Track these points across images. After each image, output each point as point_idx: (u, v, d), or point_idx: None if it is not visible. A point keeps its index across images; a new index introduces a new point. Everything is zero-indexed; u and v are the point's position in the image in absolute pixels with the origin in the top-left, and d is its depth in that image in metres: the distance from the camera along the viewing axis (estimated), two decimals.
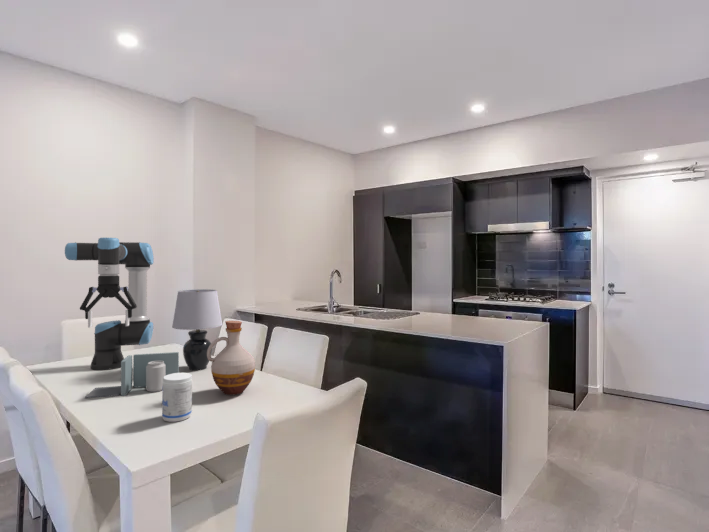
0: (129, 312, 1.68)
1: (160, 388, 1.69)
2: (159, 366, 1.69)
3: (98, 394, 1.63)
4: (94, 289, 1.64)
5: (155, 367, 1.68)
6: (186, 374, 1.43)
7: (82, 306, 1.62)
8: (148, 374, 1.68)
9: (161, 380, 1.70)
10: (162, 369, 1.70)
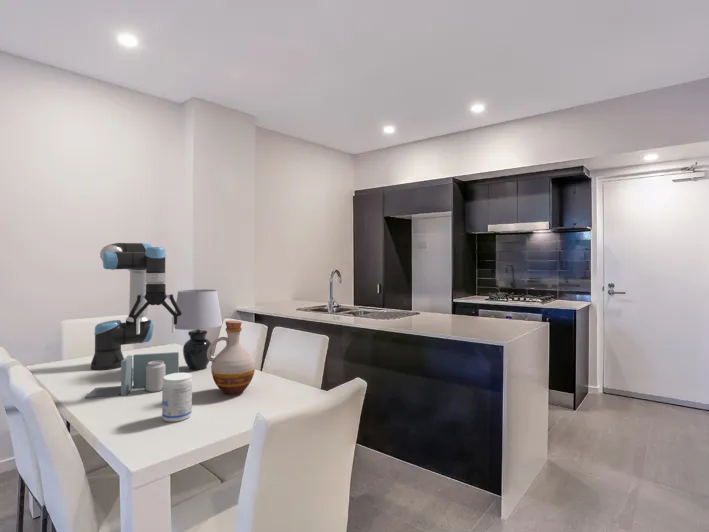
0: (175, 319, 1.72)
1: (160, 388, 1.69)
2: (159, 366, 1.69)
3: (98, 394, 1.63)
4: (142, 297, 1.69)
5: (155, 367, 1.68)
6: (186, 374, 1.43)
7: (131, 313, 1.67)
8: (148, 374, 1.68)
9: (161, 380, 1.70)
10: (162, 369, 1.70)
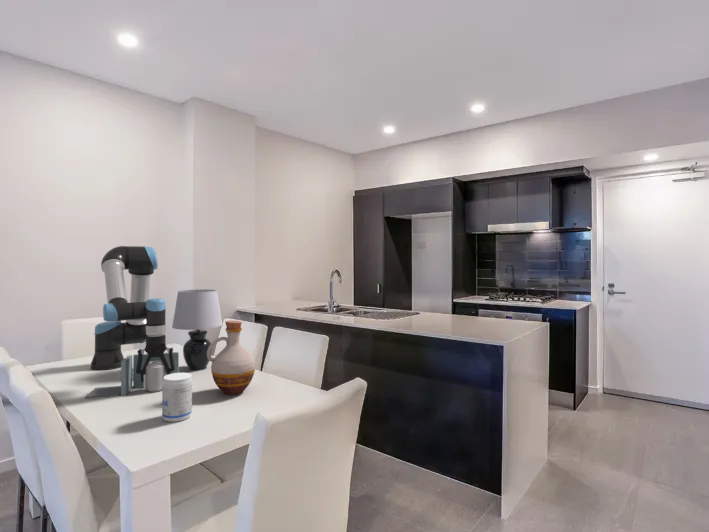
0: None
1: (160, 388, 1.69)
2: (159, 366, 1.69)
3: (98, 394, 1.63)
4: (142, 351, 1.69)
5: (155, 367, 1.68)
6: (186, 374, 1.43)
7: (137, 369, 1.68)
8: (148, 374, 1.68)
9: (161, 380, 1.70)
10: (162, 369, 1.70)
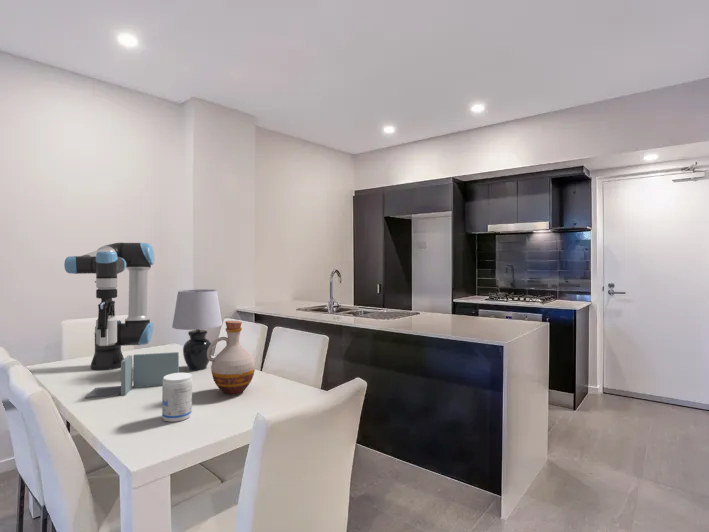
0: None
1: (97, 342, 1.65)
2: (97, 320, 1.65)
3: (98, 394, 1.63)
4: None
5: (96, 320, 1.66)
6: (186, 374, 1.43)
7: None
8: None
9: (97, 335, 1.64)
10: None
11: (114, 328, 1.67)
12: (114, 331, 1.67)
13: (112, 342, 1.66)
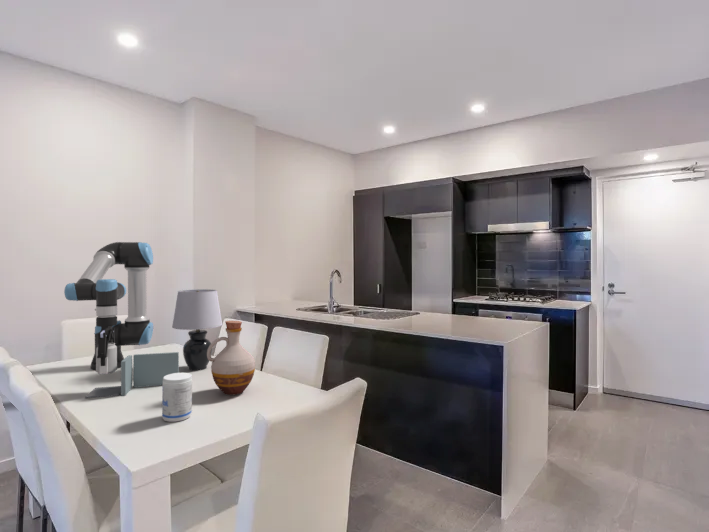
0: None
1: (96, 371, 1.65)
2: (97, 348, 1.65)
3: (98, 394, 1.63)
4: None
5: None
6: (186, 374, 1.43)
7: None
8: None
9: (97, 363, 1.64)
10: None
11: (114, 356, 1.67)
12: (114, 359, 1.67)
13: (112, 370, 1.66)
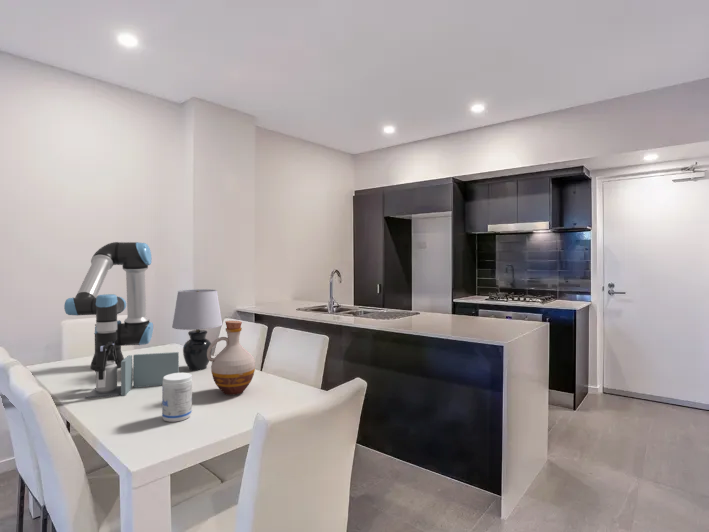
0: None
1: (97, 389, 1.65)
2: None
3: (98, 394, 1.63)
4: None
5: None
6: (186, 374, 1.43)
7: None
8: None
9: (97, 382, 1.65)
10: None
11: (114, 374, 1.67)
12: (114, 377, 1.67)
13: (112, 388, 1.67)
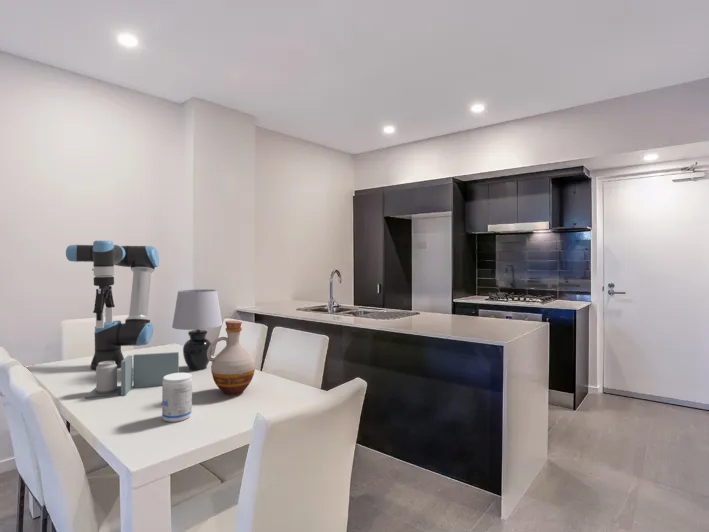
0: None
1: (97, 389, 1.65)
2: (97, 367, 1.65)
3: (98, 394, 1.63)
4: None
5: None
6: (186, 374, 1.43)
7: None
8: None
9: (97, 382, 1.65)
10: (98, 371, 1.65)
11: (114, 374, 1.67)
12: (114, 377, 1.67)
13: (112, 388, 1.67)
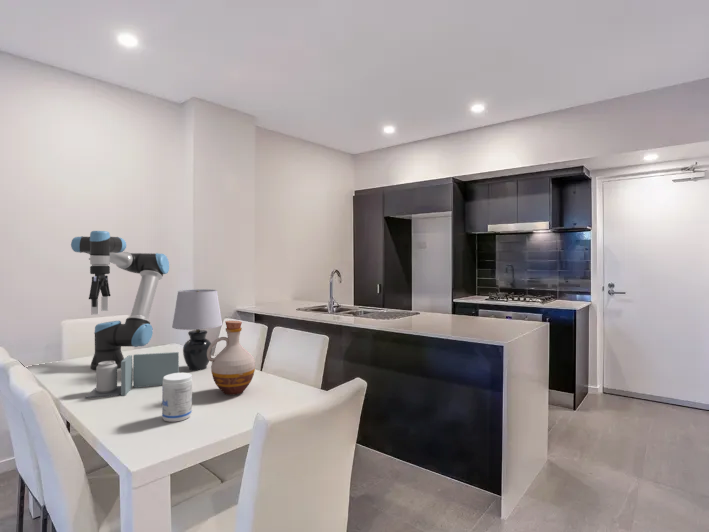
0: None
1: (97, 389, 1.65)
2: (97, 366, 1.65)
3: (98, 394, 1.63)
4: None
5: (97, 366, 1.67)
6: (186, 374, 1.43)
7: None
8: None
9: (97, 382, 1.65)
10: (98, 371, 1.65)
11: (114, 374, 1.67)
12: (114, 377, 1.67)
13: (112, 389, 1.67)
